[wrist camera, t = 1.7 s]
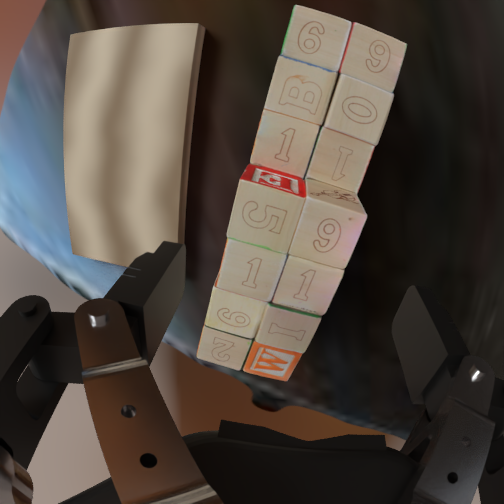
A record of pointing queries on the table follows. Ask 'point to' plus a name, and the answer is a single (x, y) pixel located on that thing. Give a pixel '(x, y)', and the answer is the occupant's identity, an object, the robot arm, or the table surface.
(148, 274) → the robot arm
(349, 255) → the stack of blocks
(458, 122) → the table surface
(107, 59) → the birch board
